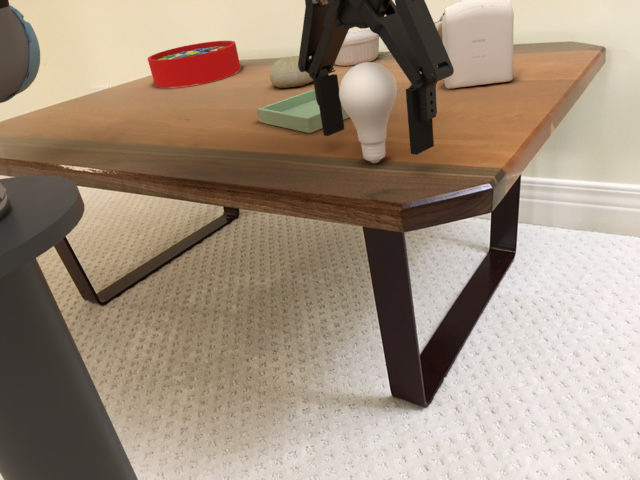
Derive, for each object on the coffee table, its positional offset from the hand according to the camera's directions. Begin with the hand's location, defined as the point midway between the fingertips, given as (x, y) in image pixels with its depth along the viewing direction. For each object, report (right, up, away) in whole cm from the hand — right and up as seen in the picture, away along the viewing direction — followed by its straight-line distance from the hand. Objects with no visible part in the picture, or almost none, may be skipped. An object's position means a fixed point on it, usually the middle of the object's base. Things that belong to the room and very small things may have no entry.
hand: (374, 140), depth 60 cm
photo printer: (+18, +13, +24) cm, 33 cm away
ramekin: (+1, +27, +54) cm, 60 cm away
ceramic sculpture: (+18, +23, +42) cm, 52 cm away
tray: (-6, +8, +22) cm, 24 cm away
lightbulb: (0, -2, +1) cm, 3 cm away
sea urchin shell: (-11, +19, +43) cm, 48 cm away
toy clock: (-34, +27, +65) cm, 79 cm away
